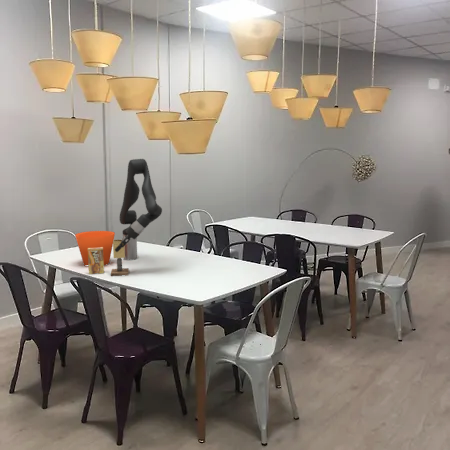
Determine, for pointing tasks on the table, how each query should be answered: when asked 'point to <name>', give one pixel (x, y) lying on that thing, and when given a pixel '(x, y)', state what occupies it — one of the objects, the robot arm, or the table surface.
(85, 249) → the flowerpot
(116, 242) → the sleeve
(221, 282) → the table surface
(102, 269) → the candy box
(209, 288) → the table surface
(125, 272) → the post base
